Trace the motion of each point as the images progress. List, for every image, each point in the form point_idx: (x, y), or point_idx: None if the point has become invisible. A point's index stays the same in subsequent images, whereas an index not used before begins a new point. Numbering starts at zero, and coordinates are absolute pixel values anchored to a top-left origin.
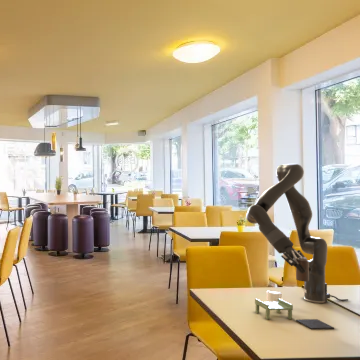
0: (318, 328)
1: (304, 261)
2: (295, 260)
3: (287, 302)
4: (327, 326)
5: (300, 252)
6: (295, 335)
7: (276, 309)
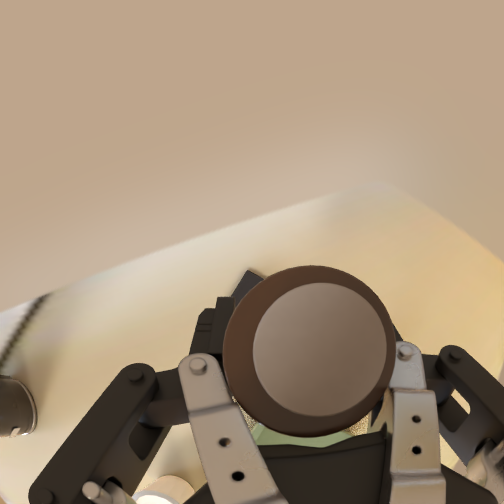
0: None
1: (368, 292)
2: (423, 384)
3: (258, 429)
4: (255, 285)
5: (68, 478)
6: (405, 305)
7: None
